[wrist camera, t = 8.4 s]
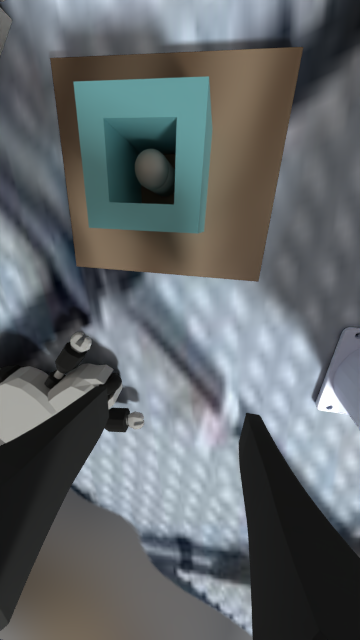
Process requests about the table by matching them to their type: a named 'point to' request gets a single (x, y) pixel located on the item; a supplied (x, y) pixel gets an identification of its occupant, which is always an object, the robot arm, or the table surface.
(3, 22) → the hinge
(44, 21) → the table surface
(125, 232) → the stub base
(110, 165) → the collar
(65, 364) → the robot toy
